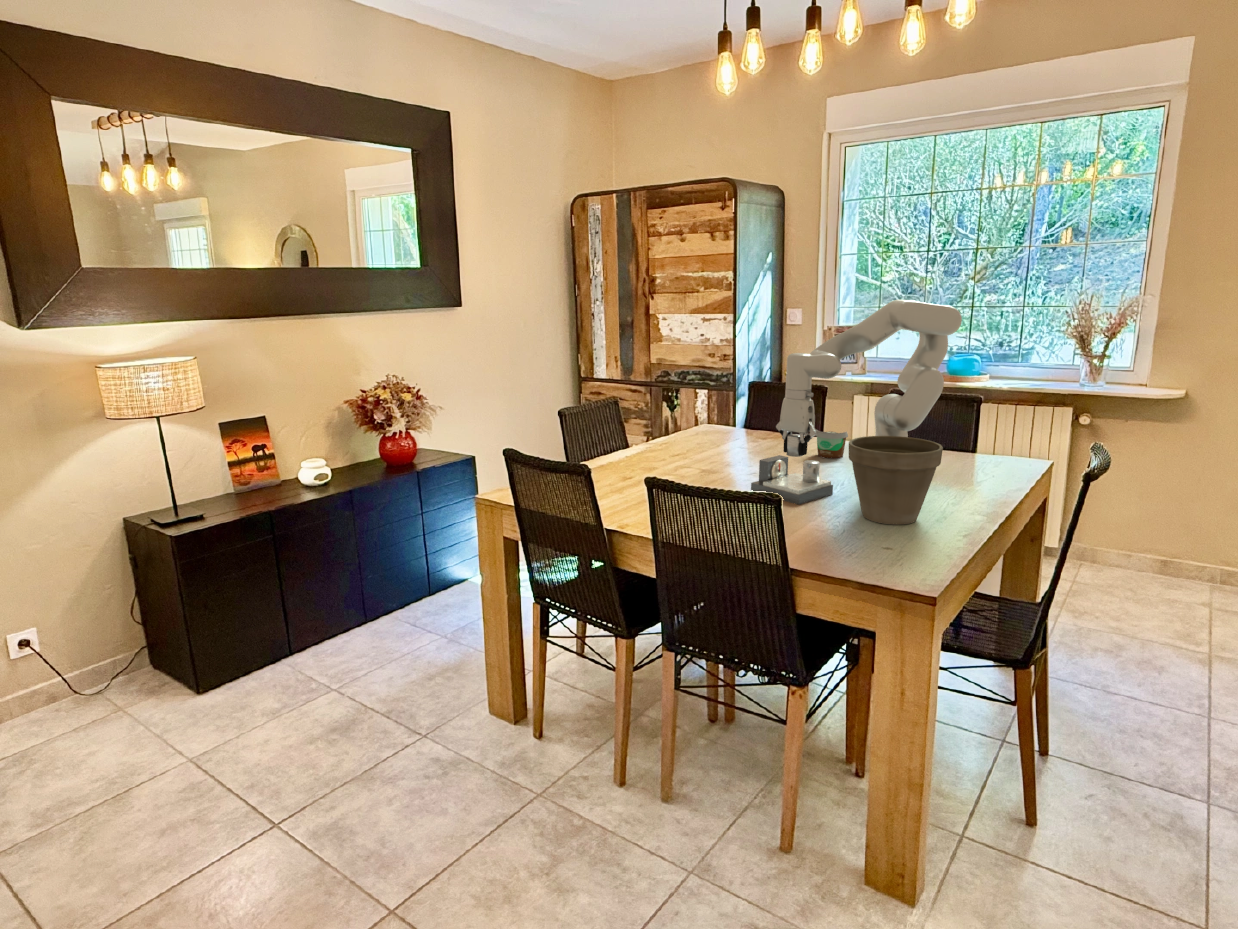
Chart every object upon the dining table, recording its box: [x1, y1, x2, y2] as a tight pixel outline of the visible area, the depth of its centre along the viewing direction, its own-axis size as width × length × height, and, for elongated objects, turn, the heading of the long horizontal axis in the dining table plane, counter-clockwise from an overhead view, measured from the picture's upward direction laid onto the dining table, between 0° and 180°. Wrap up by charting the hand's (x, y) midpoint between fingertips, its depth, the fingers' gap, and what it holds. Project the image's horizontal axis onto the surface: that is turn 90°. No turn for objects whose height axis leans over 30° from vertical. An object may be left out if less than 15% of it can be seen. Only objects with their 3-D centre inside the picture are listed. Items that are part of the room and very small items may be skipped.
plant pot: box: [848, 435, 944, 526], centre depth 212 cm, size 25×25×22 cm
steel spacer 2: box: [802, 459, 821, 483], centre depth 237 cm, size 5×5×6 cm
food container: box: [814, 429, 849, 460], centre depth 284 cm, size 12×6×10 cm, turn 62°
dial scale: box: [750, 454, 834, 506], centre depth 238 cm, size 19×17×10 cm
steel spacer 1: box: [786, 433, 804, 458], centre depth 230 cm, size 5×5×6 cm
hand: (795, 452), depth 230 cm, fingers closed on steel spacer 1, 5 cm apart
